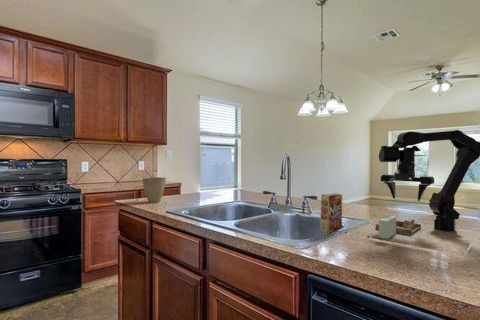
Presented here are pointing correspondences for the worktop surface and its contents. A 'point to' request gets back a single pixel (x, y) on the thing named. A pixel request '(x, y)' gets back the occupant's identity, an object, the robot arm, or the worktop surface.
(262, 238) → the worktop surface
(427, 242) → the worktop surface
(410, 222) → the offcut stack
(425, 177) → the robot arm
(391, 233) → the pale grey rectangular block
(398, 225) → the rack
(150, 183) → the plant pot
